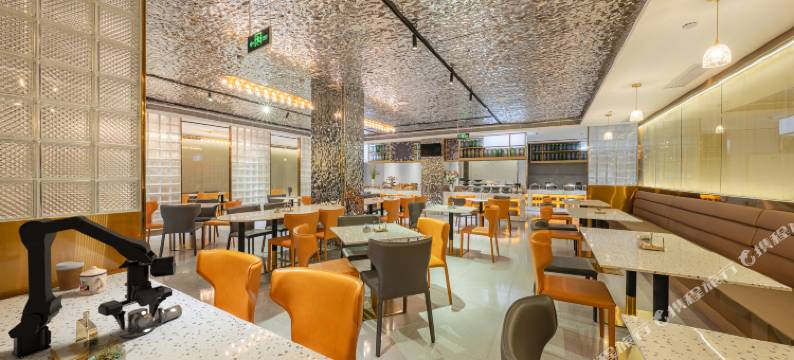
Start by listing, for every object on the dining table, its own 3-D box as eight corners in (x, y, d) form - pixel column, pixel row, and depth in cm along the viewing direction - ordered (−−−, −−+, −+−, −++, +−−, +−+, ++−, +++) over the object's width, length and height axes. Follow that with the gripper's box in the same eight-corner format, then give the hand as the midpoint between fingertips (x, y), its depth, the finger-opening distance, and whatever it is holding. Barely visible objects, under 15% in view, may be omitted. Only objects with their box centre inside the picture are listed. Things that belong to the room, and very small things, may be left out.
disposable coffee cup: (87, 287, 143) (87, 262, 143) (57, 293, 135) (57, 267, 134) (81, 283, 148) (81, 259, 148) (52, 289, 140) (52, 263, 140)
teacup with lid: (74, 294, 134) (74, 268, 134) (100, 287, 143) (100, 262, 143) (89, 298, 130) (89, 271, 130) (115, 290, 139) (115, 265, 139)
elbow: (124, 330, 101) (124, 312, 101) (142, 323, 106) (142, 306, 106) (137, 336, 97) (138, 318, 97) (156, 329, 102) (156, 311, 102)
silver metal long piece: (128, 341, 96) (128, 323, 96) (114, 334, 100) (114, 318, 100) (185, 318, 112) (185, 303, 112) (171, 313, 116) (171, 299, 116)
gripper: (114, 292, 90) (114, 344, 90) (181, 274, 107) (181, 318, 107) (97, 286, 95) (97, 335, 95) (163, 270, 112) (163, 312, 112)
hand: (137, 324), depth 102 cm, fingers open, 8 cm apart
